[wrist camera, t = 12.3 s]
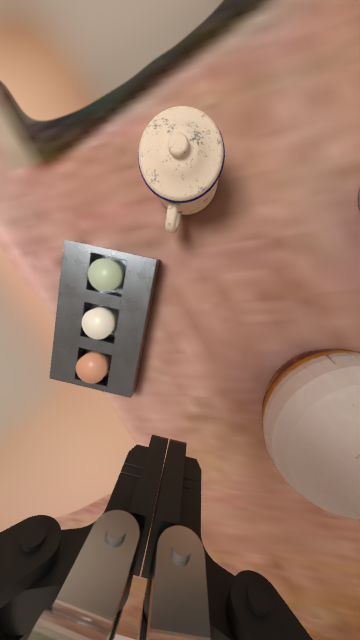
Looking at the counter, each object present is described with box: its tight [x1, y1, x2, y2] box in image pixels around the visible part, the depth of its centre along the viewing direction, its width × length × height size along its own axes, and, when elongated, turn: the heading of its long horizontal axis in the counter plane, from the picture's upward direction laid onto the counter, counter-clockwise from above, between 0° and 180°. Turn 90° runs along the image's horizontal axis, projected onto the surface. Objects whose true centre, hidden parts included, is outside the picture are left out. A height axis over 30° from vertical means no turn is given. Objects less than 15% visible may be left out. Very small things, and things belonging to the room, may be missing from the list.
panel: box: [50, 240, 160, 398], centre depth 39 cm, size 21×13×3 cm, turn 168°
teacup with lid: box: [138, 106, 225, 234], centre depth 30 cm, size 12×9×12 cm
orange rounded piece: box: [76, 350, 112, 384], centre depth 40 cm, size 4×4×4 cm
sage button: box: [88, 259, 126, 292], centre depth 37 cm, size 4×4×4 cm
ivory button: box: [82, 306, 119, 339], centre depth 38 cm, size 4×4×4 cm
